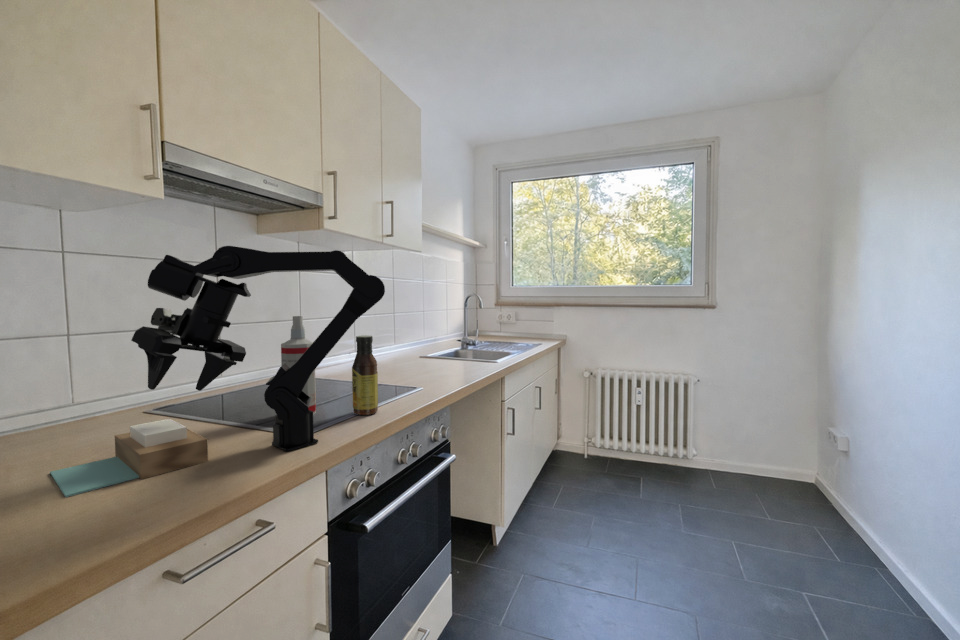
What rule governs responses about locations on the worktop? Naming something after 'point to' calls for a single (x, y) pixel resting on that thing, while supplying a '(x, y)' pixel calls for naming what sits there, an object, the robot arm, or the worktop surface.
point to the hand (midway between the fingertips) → (175, 389)
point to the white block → (158, 432)
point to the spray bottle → (294, 351)
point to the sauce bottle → (365, 378)
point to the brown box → (161, 454)
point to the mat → (92, 476)
